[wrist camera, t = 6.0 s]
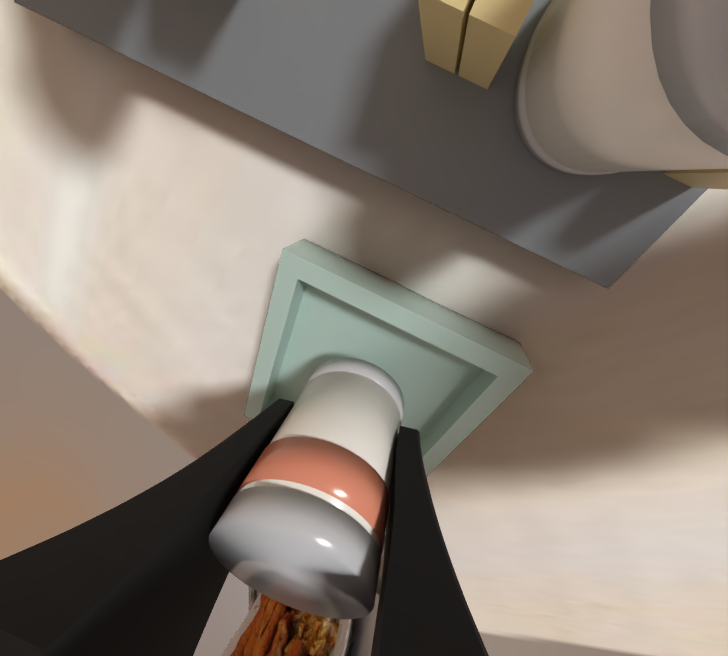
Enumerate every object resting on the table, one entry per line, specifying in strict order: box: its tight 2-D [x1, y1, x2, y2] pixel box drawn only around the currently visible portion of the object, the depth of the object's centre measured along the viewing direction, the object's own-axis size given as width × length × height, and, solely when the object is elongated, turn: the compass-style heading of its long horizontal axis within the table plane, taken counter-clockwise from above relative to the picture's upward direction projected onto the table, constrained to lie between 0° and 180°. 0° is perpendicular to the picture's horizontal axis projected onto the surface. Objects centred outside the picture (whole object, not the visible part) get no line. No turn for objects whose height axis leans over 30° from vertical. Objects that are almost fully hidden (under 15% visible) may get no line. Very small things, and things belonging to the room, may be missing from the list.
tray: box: [244, 239, 534, 477], centre depth 13 cm, size 10×10×2 cm
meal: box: [221, 531, 386, 656], centre depth 16 cm, size 15×4×13 cm, turn 129°
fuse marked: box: [209, 358, 404, 619], centre depth 9 cm, size 4×4×6 cm
